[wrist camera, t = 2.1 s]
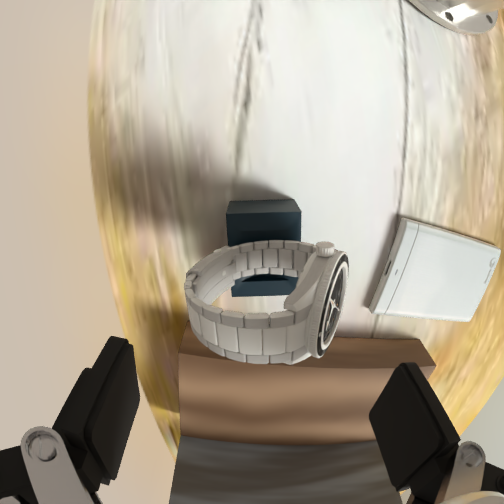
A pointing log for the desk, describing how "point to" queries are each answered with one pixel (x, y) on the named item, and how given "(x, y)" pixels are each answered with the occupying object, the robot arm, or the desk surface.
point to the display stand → (286, 425)
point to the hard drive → (434, 274)
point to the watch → (268, 287)
